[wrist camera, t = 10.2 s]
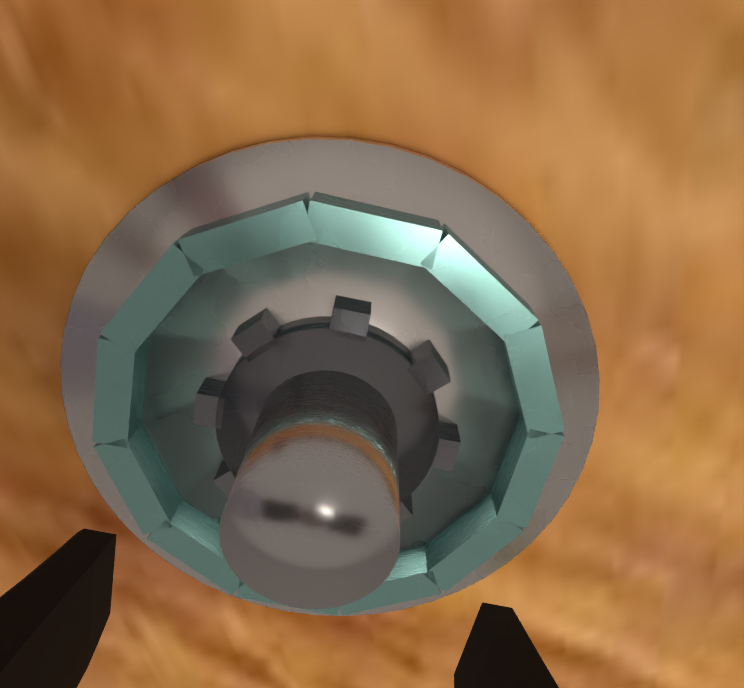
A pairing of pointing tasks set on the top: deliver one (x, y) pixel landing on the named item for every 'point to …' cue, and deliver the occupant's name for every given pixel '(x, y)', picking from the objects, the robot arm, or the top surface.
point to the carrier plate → (316, 298)
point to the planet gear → (323, 451)
